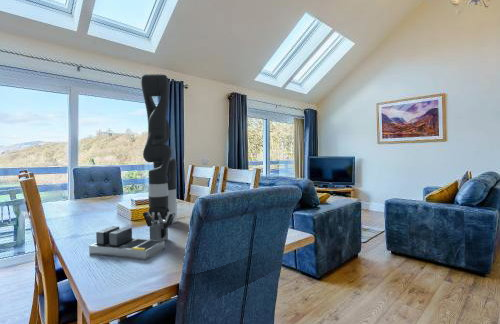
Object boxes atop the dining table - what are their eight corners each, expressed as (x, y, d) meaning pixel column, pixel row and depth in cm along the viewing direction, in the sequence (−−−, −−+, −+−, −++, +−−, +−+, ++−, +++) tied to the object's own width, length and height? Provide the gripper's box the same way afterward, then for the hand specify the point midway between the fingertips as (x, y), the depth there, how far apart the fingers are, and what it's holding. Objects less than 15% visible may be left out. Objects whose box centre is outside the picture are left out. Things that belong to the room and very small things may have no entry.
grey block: (161, 238, 114) (161, 221, 114) (168, 238, 113) (167, 221, 113) (150, 244, 106) (149, 226, 106) (156, 245, 106) (156, 227, 105)
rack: (89, 254, 97) (88, 232, 97) (112, 244, 108) (111, 224, 107) (146, 260, 91) (145, 237, 91) (164, 248, 102) (164, 228, 102)
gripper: (179, 193, 111) (179, 235, 112) (148, 192, 115) (149, 233, 115) (169, 196, 104) (170, 241, 105) (137, 195, 107) (138, 238, 108)
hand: (159, 237), depth 110 cm, fingers closed on grey block, 3 cm apart
